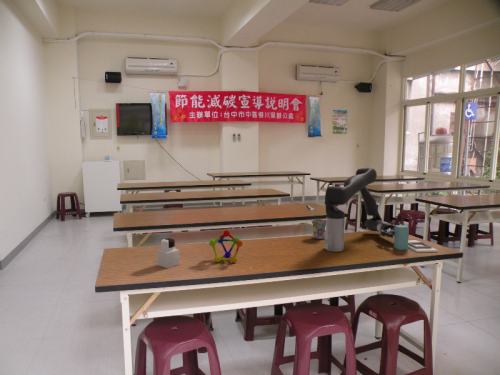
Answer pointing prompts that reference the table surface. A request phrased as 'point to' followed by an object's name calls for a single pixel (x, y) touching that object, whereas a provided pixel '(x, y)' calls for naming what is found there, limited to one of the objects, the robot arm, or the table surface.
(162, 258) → the grey block with knob
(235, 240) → the educational toy
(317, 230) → the mug
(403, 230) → the pillar
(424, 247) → the baseplate
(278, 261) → the table surface
